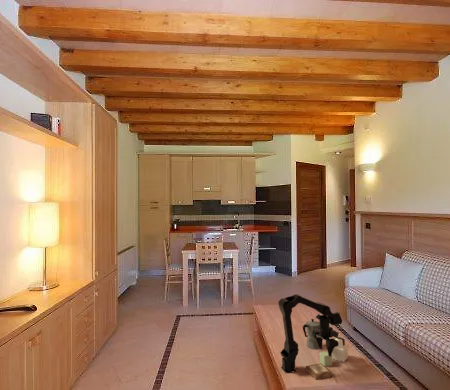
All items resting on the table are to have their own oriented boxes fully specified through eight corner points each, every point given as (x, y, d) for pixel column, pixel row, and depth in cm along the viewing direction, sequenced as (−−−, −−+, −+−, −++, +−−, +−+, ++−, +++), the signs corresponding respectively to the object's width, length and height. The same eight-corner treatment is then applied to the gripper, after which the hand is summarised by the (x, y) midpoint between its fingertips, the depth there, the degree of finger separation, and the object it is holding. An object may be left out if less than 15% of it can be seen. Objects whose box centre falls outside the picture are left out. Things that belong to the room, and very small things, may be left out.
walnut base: (315, 379, 169) (315, 374, 169) (306, 370, 179) (305, 365, 179) (331, 376, 172) (331, 371, 172) (321, 367, 181) (321, 363, 182)
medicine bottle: (336, 354, 197) (335, 335, 198) (348, 357, 192) (347, 337, 193) (332, 359, 191) (331, 338, 192) (344, 362, 187) (343, 341, 187)
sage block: (324, 366, 183) (324, 356, 183) (319, 362, 187) (319, 352, 188) (332, 365, 184) (331, 354, 184) (327, 361, 189) (326, 351, 189)
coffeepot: (315, 341, 217) (314, 315, 218) (326, 346, 209) (324, 319, 210) (298, 346, 210) (297, 319, 210) (308, 352, 201) (307, 323, 202)
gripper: (346, 329, 180) (347, 357, 179) (327, 319, 198) (327, 344, 197) (329, 332, 177) (330, 360, 176) (311, 321, 195) (312, 346, 194)
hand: (325, 352), depth 186 cm, fingers open, 9 cm apart
